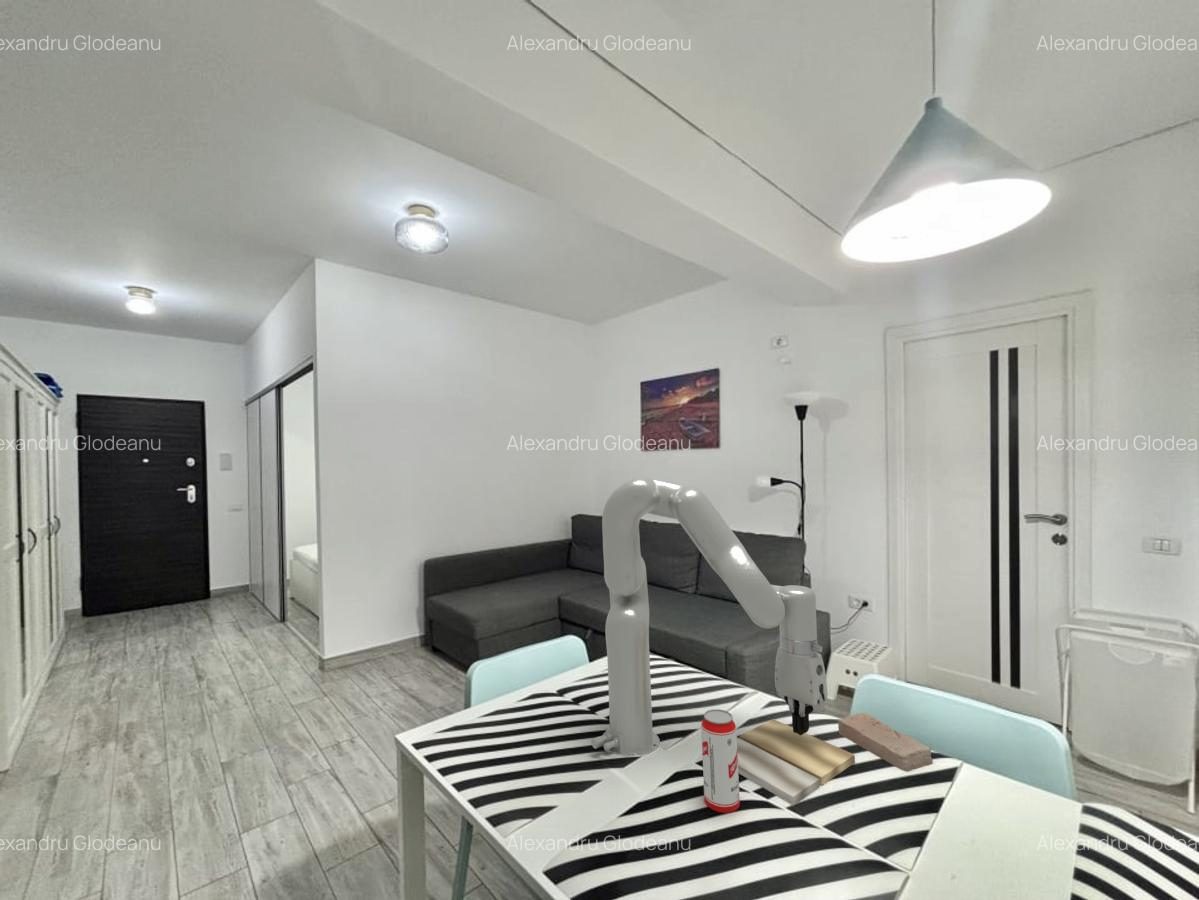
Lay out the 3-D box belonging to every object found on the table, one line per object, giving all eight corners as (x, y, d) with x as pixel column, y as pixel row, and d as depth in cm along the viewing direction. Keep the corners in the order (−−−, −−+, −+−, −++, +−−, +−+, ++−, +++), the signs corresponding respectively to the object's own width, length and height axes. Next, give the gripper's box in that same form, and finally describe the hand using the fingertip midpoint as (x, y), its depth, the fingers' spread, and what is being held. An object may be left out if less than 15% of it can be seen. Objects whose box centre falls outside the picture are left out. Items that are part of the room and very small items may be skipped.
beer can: (741, 799, 90) (737, 710, 91) (739, 822, 84) (734, 726, 85) (706, 793, 92) (702, 706, 93) (702, 815, 87) (698, 721, 88)
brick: (935, 769, 98) (933, 745, 98) (905, 780, 95) (904, 754, 95) (864, 731, 113) (863, 710, 114) (837, 739, 110) (835, 717, 111)
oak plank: (821, 785, 92) (821, 777, 92) (740, 742, 107) (739, 735, 108) (855, 762, 99) (854, 754, 99) (773, 725, 114) (773, 718, 114)
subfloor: (793, 815, 86) (792, 800, 86) (706, 763, 102) (706, 751, 102) (862, 765, 100) (862, 753, 100) (777, 726, 116) (776, 716, 116)
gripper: (841, 651, 103) (844, 741, 101) (778, 632, 115) (780, 713, 114) (821, 658, 98) (824, 753, 97) (758, 639, 110) (760, 723, 109)
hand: (800, 731), depth 105 cm, fingers closed
